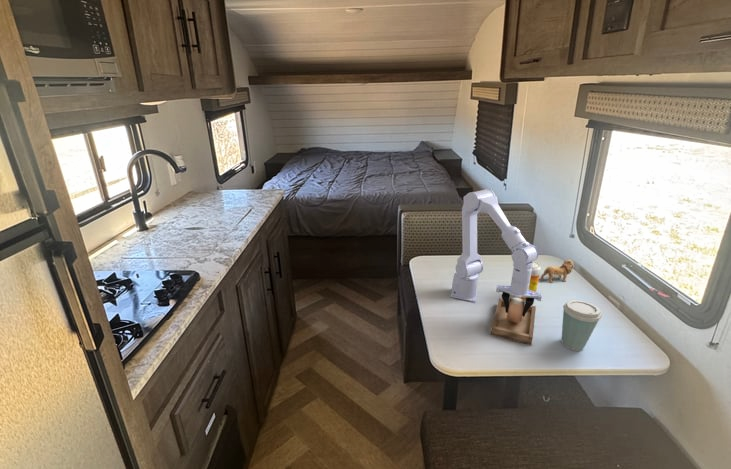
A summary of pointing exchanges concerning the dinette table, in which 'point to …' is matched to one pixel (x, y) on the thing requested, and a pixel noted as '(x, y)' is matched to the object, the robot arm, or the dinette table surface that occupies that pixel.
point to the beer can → (533, 278)
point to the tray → (513, 325)
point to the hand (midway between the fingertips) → (515, 313)
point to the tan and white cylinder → (515, 309)
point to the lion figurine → (559, 270)
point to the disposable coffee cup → (578, 323)
